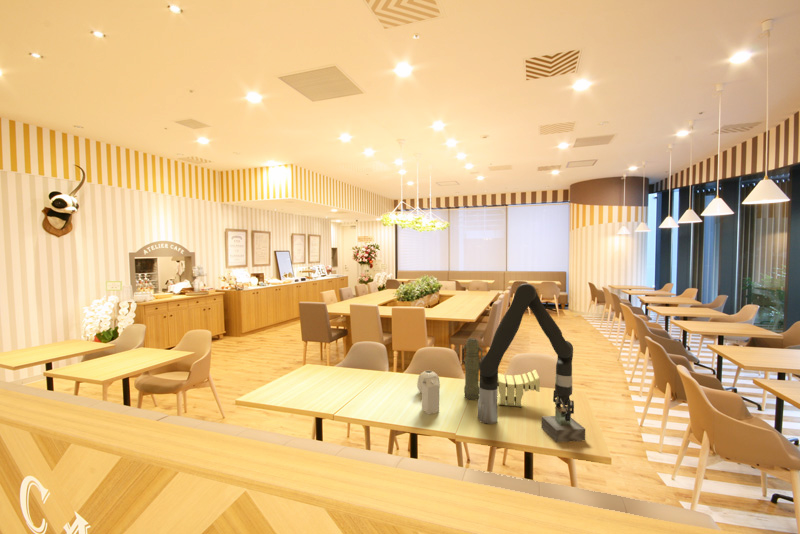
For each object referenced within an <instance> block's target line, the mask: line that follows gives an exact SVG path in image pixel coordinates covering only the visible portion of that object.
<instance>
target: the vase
mask: <svg viewBox="0 0 800 534" xmlns="http://www.w3.org/2000/svg"><path fill="white" fill-rule="evenodd" d="M431 376H436V378H437V380H438V383H439V389H440V387H441V384H440V377H439V375H438V374H437V373H436V372H435V371H432V370H430V369H429V370H424V371H423V372H421V373H420V374H419V375H418V378H417V383H416V385H417V386H416V387H417V390H418V392H419V393H421V394H422V382H423V381H424V380H425V377H431Z"/></svg>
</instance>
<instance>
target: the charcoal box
mask: <svg viewBox="0 0 800 534" xmlns="http://www.w3.org/2000/svg"><path fill="white" fill-rule="evenodd" d="M541 429H542V430H543V431H544V432H545V433H546V434H547V435H548V436H549V437H550V438H551V439H552V440H554V441H555V443H566V442H567V443H569V441H572V442H583V441H582V440H585V441H586V428H585V427H584V426H582V425H581V424H580V423H578V422H577V421H576V420H575V419H574V418H572V417H571V424H570V425H560V424H559V423H558V422H557V421H556V420H555V415H548V416H547V415H545V416H543V415H542V416H541Z"/></svg>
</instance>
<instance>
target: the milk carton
mask: <svg viewBox="0 0 800 534" xmlns="http://www.w3.org/2000/svg"><path fill="white" fill-rule="evenodd" d="M421 410H422V411H424V412H425V413H426V414H427V415H430V414H431V415H432V414H437V413H439V412H440V388H439V383H438V380H437V378H436V376H431V377H425V380H424V381H423V382H422V393H421Z"/></svg>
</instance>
